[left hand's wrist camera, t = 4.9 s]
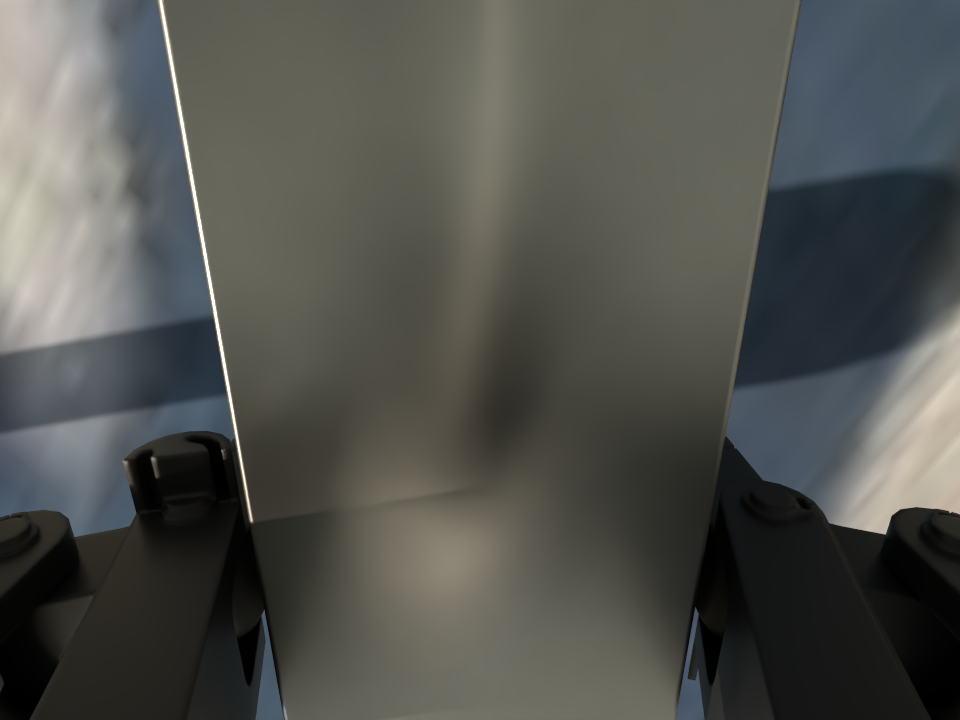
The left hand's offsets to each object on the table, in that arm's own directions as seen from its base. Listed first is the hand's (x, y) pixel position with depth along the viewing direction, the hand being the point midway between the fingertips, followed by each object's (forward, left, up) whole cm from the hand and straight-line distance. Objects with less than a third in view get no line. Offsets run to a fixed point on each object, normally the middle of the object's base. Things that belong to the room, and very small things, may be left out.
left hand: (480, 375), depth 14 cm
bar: (+7, +4, -1) cm, 8 cm away
